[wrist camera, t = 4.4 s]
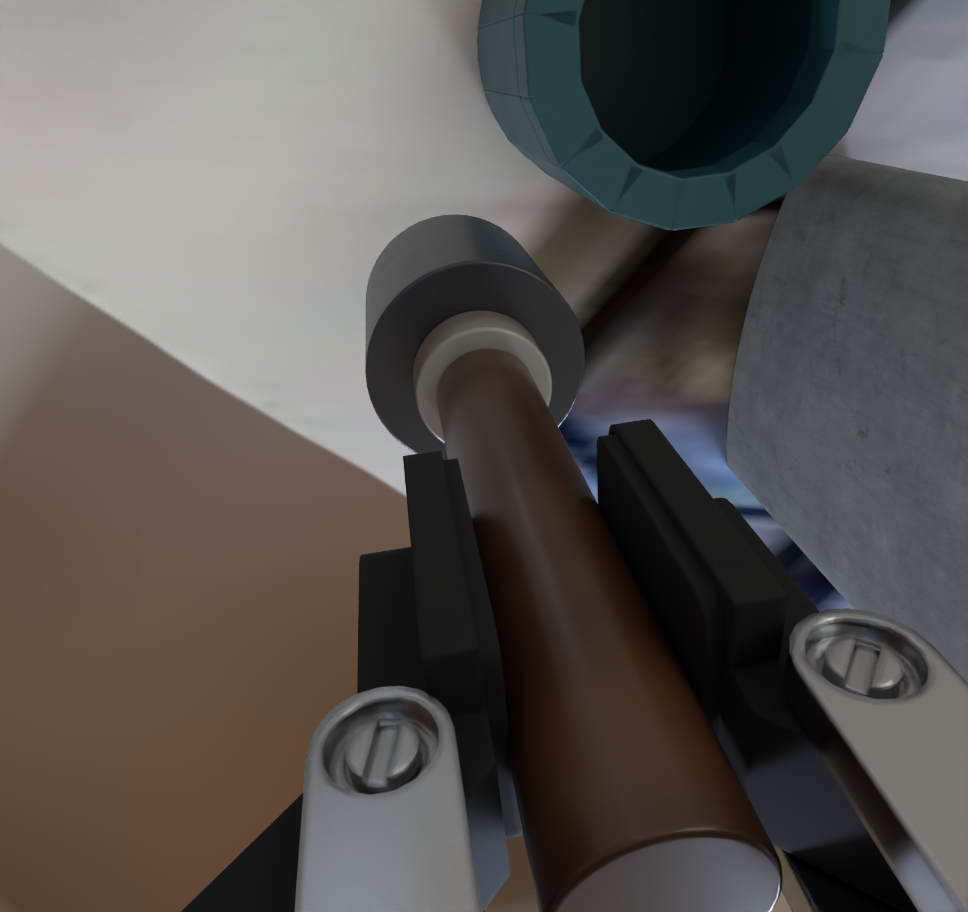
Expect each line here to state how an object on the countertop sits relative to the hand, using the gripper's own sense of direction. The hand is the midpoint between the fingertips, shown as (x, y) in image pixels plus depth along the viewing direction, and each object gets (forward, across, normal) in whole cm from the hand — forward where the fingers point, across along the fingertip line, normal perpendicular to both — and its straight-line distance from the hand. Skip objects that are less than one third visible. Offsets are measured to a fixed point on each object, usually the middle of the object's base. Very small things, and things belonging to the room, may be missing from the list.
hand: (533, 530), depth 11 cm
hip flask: (+23, -16, +7) cm, 29 cm away
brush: (+11, 0, 0) cm, 11 cm away
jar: (+23, -8, -6) cm, 25 cm away
